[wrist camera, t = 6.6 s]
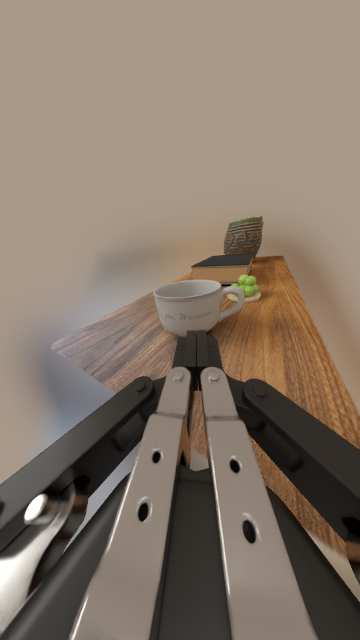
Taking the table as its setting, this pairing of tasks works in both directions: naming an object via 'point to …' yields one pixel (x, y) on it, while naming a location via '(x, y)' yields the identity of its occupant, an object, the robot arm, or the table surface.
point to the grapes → (246, 289)
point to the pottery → (244, 236)
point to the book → (223, 268)
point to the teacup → (193, 305)
